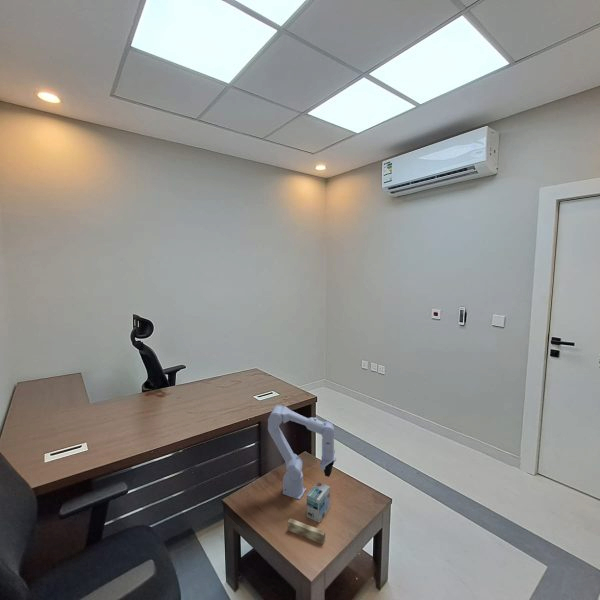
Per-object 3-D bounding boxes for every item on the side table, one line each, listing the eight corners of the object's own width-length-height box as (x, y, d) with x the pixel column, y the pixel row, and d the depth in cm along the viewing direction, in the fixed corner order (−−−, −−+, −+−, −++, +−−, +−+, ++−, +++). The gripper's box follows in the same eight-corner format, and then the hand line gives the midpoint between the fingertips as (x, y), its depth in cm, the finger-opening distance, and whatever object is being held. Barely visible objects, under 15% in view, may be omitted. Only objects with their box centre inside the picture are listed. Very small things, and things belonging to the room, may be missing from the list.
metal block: (288, 530, 134) (287, 521, 133) (290, 526, 135) (290, 518, 135) (323, 544, 127) (323, 535, 126) (325, 540, 129) (325, 531, 128)
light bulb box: (319, 523, 137) (319, 500, 136) (306, 517, 140) (305, 494, 139) (330, 507, 146) (330, 485, 145) (317, 501, 149) (317, 480, 148)
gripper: (330, 459, 143) (330, 486, 145) (340, 442, 156) (340, 468, 158) (316, 455, 146) (316, 482, 148) (327, 439, 159) (327, 464, 161)
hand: (327, 474), depth 153 cm, fingers closed
